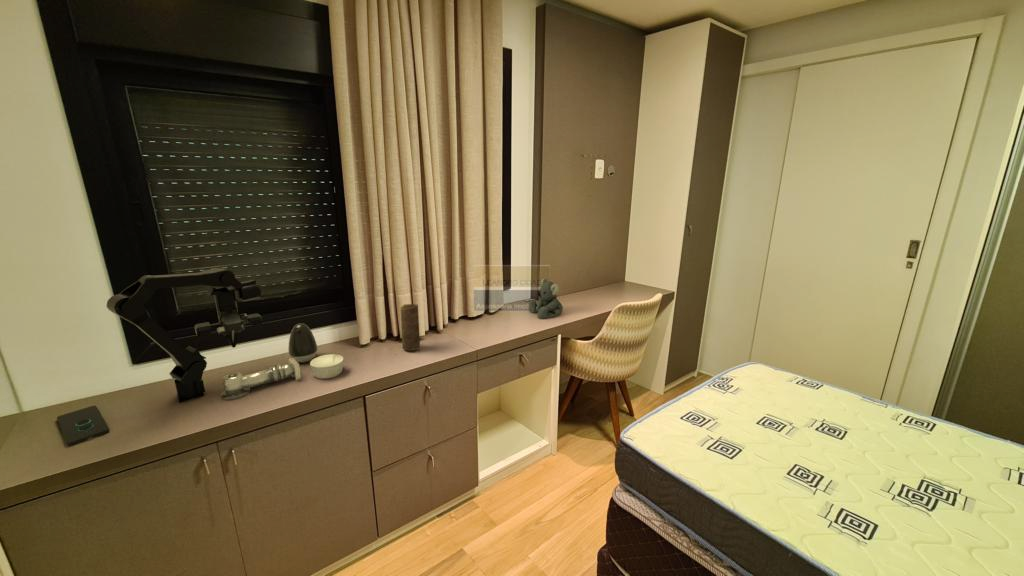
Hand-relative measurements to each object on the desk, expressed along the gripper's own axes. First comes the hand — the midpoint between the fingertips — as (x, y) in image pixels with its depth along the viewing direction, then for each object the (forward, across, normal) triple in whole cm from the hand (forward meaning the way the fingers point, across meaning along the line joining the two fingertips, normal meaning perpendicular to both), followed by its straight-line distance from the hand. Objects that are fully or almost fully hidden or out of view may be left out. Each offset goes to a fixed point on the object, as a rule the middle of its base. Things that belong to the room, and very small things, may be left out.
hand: (233, 347), depth 137 cm
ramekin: (+12, +25, -17) cm, 33 cm away
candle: (+12, +59, -18) cm, 63 cm away
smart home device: (+13, -38, -4) cm, 41 cm away
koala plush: (+12, +141, -24) cm, 143 cm away
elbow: (+12, +2, -12) cm, 17 cm away
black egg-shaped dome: (+12, +22, +1) cm, 25 cm away
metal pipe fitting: (+12, +4, -12) cm, 18 cm away
